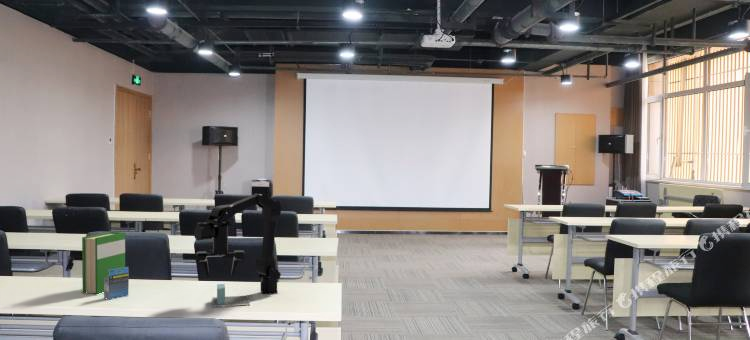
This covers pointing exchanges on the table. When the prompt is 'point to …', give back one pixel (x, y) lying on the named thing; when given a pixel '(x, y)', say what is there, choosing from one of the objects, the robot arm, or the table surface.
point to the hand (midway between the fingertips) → (220, 276)
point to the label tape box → (116, 283)
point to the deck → (220, 293)
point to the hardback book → (101, 259)
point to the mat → (232, 301)
